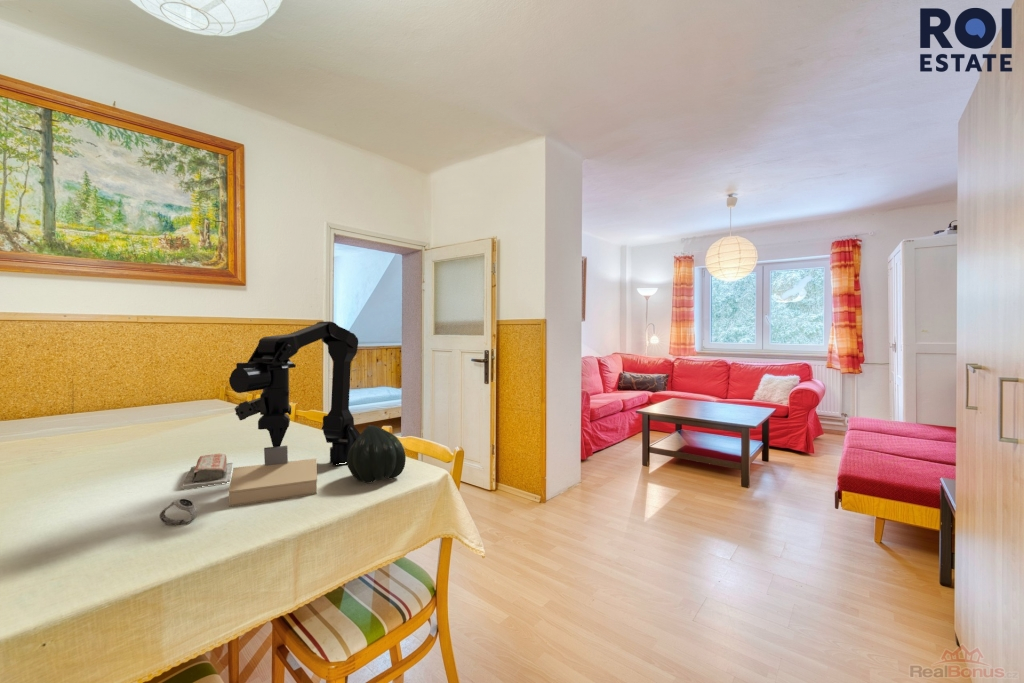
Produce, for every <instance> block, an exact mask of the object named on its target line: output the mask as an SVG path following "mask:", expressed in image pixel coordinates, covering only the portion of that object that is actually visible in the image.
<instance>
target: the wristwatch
mask: <svg viewBox="0 0 1024 683" xmlns="http://www.w3.org/2000/svg"><path fill="white" fill-rule="evenodd" d="M173 505H174V506H175V507H176V508H178V509H179V510H182V511H186V512H188V513H189V515H190V520H189V519H188V520H184V519H180V520H179V519H171V518H169V517H167V516H166V511H167V510H168V509H169V508H170V507H173ZM196 517H197V509H196V506H195V503H193V502H192V501H191V499H187V498H179V499H176V500H174V501H173V502H171V503H169V505H168V506H166V507H165V508H163V509H162V510H161V511H160V513H159V519H160V521H161V523H163V524H164V525H166V526H171V527H175V526H185V525H188V524H190V523H191V522H193V521H194V520H195V518H196Z"/></svg>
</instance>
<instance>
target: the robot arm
mask: <svg viewBox="0 0 1024 683" xmlns="http://www.w3.org/2000/svg"><path fill="white" fill-rule="evenodd" d="M319 340H321V342H322V343H324V344H325V345H326V346H327V352H328V355H329V357H330V358H331V360H332V363H333V364H332V378H331V380H332V381H331V405H330V410H329V412H328V413H327V415H323V417H322V428H321V430H322V431H323V435H324V437H325V438H324V439H325V441H326V442H325V443H327V444H331V446H330V447H329V463H331V466H332V465H336V464H339V463H345V462H347V457H348V452H349V450H350V447H351V446H352V444H353V443H354V442H355V440H356V439H357V438H358V437H359V436H360V434H361V433H360V431H358V430H357V428H356V427H355V418H354V416H353V414H352V412H351V411H350V408H349V407H350V392H351V391H350V390H351V389H350V388H351V387H350V386H351V369H352V367H351V366H352V361H353V360H354V358H355V357H356V355H357V353H358V348H359V338H358V337H357V336H356V334H355V333H353V332H351V331H350V330H348V329H346V328H344V327H341V326H340V325H338V324H336V322H334V321H327V320H326V321H319V322H317V323H314V324H311V325H310V326H306V327H304V328H302V329H298V330H296V331H294V332H293V331H292V332H291V333H287V334H278V335H271V336H264V337H263V336H262V337H261V338H260V339H259V340H258V344H257V345H256V348H254V350H253V352H252V354H251V355H250V357H249V359H248V360H247V362H236V364H235V368H234V369H233V370H232V372H231V374H230V377H229V378H228V380H229V386H230V388H231V389H232V390H233V392H236V393H237V394H243V393H248V392H255V391H262V392H261V393H260V397H258V398H254V399H252V400H245V401H242V402H239V403H238V405H237V406H235V407H234V411H235V415H236V416H237V418H238V420H239V421H244V420H246V419H247V418H249V417H252V416H255V415H258V414H259V413H260V414H259V415H260V416H261V417H259V418H258V421H257V430H267V431H268V433H269V437H270V441H271V445H272V447H277V446H282V443H283V439H284V438H285V435H286V433H287V430H288V428H289V427H290V421H291V418H290V416H291V415H292V405H290V369H293V368H296V366H297V365H296V364H295V363H294V362H292V361H291V358H292V357H294V356H295V355H297V353H298V352H299V350H300V349H301V348H303V347H306V346H309V345H310V344H312V343H315V342H317V341H319Z"/></svg>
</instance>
